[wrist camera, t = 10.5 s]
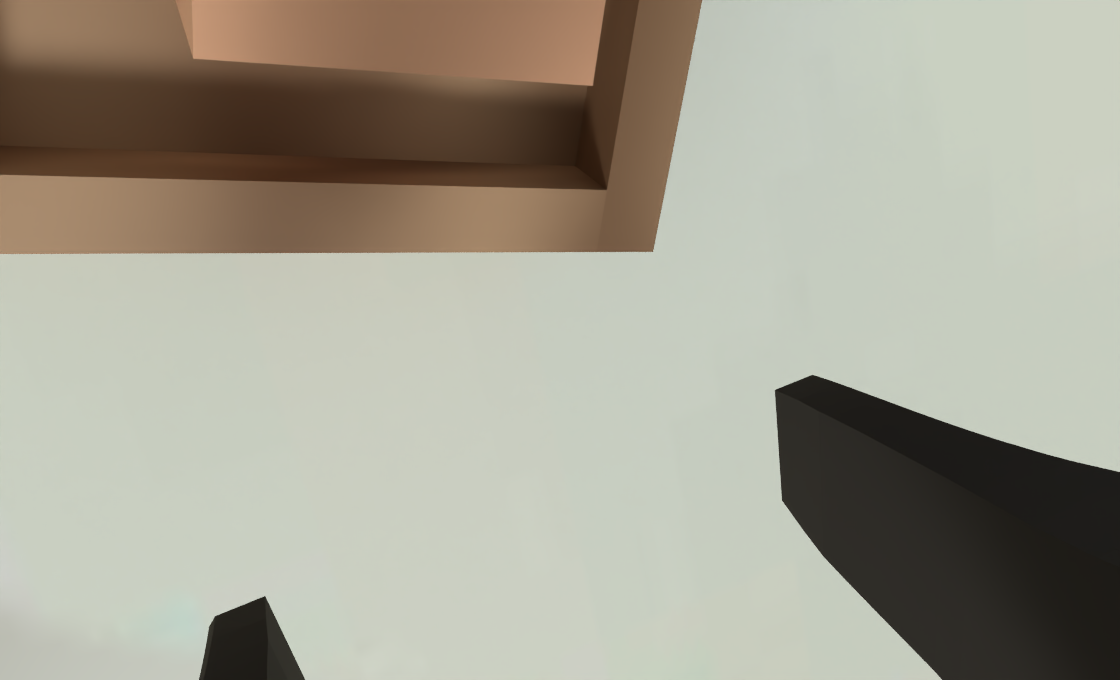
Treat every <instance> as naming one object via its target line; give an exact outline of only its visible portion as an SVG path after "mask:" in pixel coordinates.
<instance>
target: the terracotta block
mask: <svg viewBox="0 0 1120 680" xmlns="http://www.w3.org/2000/svg"><path fill="white" fill-rule="evenodd" d="M605 1H606V0H176V4H177V7H178V10H179V13H180V17H181V20H182V23H183V27H184V30H185V33H186V36H187V40H188V43H189V46H190V50H191V53H192V56H193V59H205V60H220V61H234V62H249V63H264V64H278V65H293V66H308V67H322V68H337V69H352V70H366V71H381V72H396V73H410V74H425V75H440V76H454V77H469V78H484V79H499V80H513V81H528V82H543V83H557V84H572V85H587V86H593V81H594V74H595V67H596V61H597V54H598V48H599V41H600V34H601V28H602V21H603V15H604V8H605Z"/></svg>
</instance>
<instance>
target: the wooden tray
mask: <svg viewBox="0 0 1120 680" xmlns="http://www.w3.org/2000/svg"><path fill="white" fill-rule="evenodd" d="M701 3H702V0H606V1H605V8H604V15H603V21H602V28H601V34H600V41H599V48H598V54H597V61H596V67H595V74H594V81H593V86H587V85H572V84H557V83H543V82H528V81H513V80H499V79H484V78H469V77H454V76H440V75H425V74H410V73H396V72H381V71H366V70H352V69H337V68H322V67H308V66H293V65H278V64H264V63H249V62H234V61H220V60H205V59H193V56H192V53H191V50H190V46H189V43H188V40H187V36H186V33H185V30H184V27H183V23H182V20H181V17H180V13H179V10H178V7H177V4H176V0H0V254H89V253H396V252H653V249H654V244H655V239H656V233H657V228H658V223H659V218H660V213H661V208H662V203H663V198H664V192H665V187H666V182H667V177H668V172H669V167H670V162H671V157H672V152H673V146H674V141H675V136H676V131H677V126H678V121H679V116H680V111H681V105H682V100H683V95H684V90H685V85H686V80H687V75H688V70H689V65H690V59H691V54H692V49H693V44H694V39H695V34H696V29H697V24H698V18H699V13H700V8H701Z"/></svg>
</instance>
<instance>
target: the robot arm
mask: <svg viewBox="0 0 1120 680" xmlns="http://www.w3.org/2000/svg"><path fill="white" fill-rule="evenodd" d="M775 397H776V413H777V428H778V443H779V459H780V474H781V490H782V501H783V502H784V504H785V505H786V506H787V508H788V509H789V511H790V512H791V513H792V515H793V516H794V518H795V519H796V520H797V522H798V523H799V525H800V526H801V527H802V529H803V530H804V532H805V533H806V534H807V535H808V537H809V538H810V539H811V541H812V542H813V543H814V545H815V546H816V547H817V548H818V550H819V551H820V552H821V554H822V555H823V556H824V557H825V558H826V560H827V561H828V562H829V563H830V564H831V565H832V566H833V567H834V568H835V569H836V570H837V571H838V572H839V573H840V574H841V575H842V576H843V578H844V579H845V580H846V581H847V582H848V583H849V584H850V585H851V586H852V587H853V588H854V589H855V590H856V591H857V592H858V593H859V594H860V595H861V596H862V597H863V598H864V599H865V600H866V601H867V602H868V603H869V604H870V605H871V607H872V608H873V609H874V610H875V611H876V612H877V613H878V614H879V615H880V616H881V617H882V618H883V619H884V620H885V621H886V622H887V623H888V624H889V625H890V626H891V627H892V628H893V629H894V630H895V631H896V632H897V633H898V634H899V635H900V636H901V637H902V638H903V639H904V640H905V641H906V642H907V643H908V644H909V645H910V646H911V647H912V648H913V649H914V650H915V652H916V653H917V654H918V655H919V656H920V657H921V658H922V659H923V660H924V661H925V662H926V663H927V664H928V665H929V666H930V667H931V668H932V669H933V670H934V671H935V672H936V673H937V674H938V675H939V677H940V678H941V679H942V680H1120V472H1116V471H1112V470H1108V469H1103V468H1099V467H1095V466H1090V465H1086V464H1082V463H1077V462H1073V461H1069V460H1066V459H1062V458H1058V457H1054V456H1050V455H1047V454H1043V453H1040V452H1036V451H1033V450H1030V449H1026V448H1023V447H1020V446H1016V445H1013V444H1009V443H1006V442H1003V441H999V440H996V439H993V438H990V437H987V436H984V435H981V434H978V433H975V432H971V431H968V430H966V429H963V428H960V427H957V426H954V425H951V424H948V423H945V422H942V421H940V420H937V419H934V418H931V417H928V416H925V415H923V414H920V413H917V412H914V411H912V410H909V409H906V408H903V407H901V406H898V405H895V404H893V403H890V402H887V401H885V400H882V399H879V398H877V397H874V396H871V395H868V394H866V393H863V392H860V391H858V390H855V389H852V388H849V387H847V386H844V385H841V384H838V383H835V382H833V381H830V380H827V379H824V378H820V377H817V376H814V375H811V376H809V377H806V378H804V379H801V380H799V381H796V382H794V383H791V384H789V385H786V386H784V387H781V388H779V389H776V390H775ZM199 680H305V679H304V677H303V674H302V672H301V670H300V668H299V666H298V664H297V662H296V660H295V658H294V656H293V654H292V651H291V649H290V647H289V645H288V643H287V641H286V639H285V637H284V635H283V633H282V631H281V628H280V626H279V624H278V622H277V620H276V618H275V616H274V614H273V612H272V610H271V608H270V605H269V603H268V601H267V599H266V597H265V596H264V597H262V598H259V599H257V600H254V601H252V602H250V603H247V604H245V605H242V606H240V607H237V608H235V609H232V610H230V611H227V612H225V613H222V614H220V615H217V616H215V618H214V619H213V621H212V623H211V625H210V626H209V632H208V638H207V644H206V649H205V654H204V659H203V664H202V669H201V673H200V678H199Z"/></svg>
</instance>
